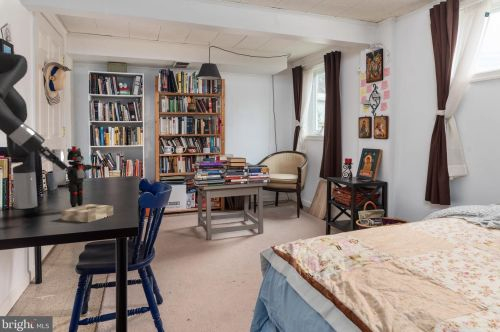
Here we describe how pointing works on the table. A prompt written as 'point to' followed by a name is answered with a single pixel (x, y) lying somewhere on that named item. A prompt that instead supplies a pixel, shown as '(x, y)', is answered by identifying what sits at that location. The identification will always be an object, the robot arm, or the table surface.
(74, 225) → the table surface
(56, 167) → the pin
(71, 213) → the socket
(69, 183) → the toy
